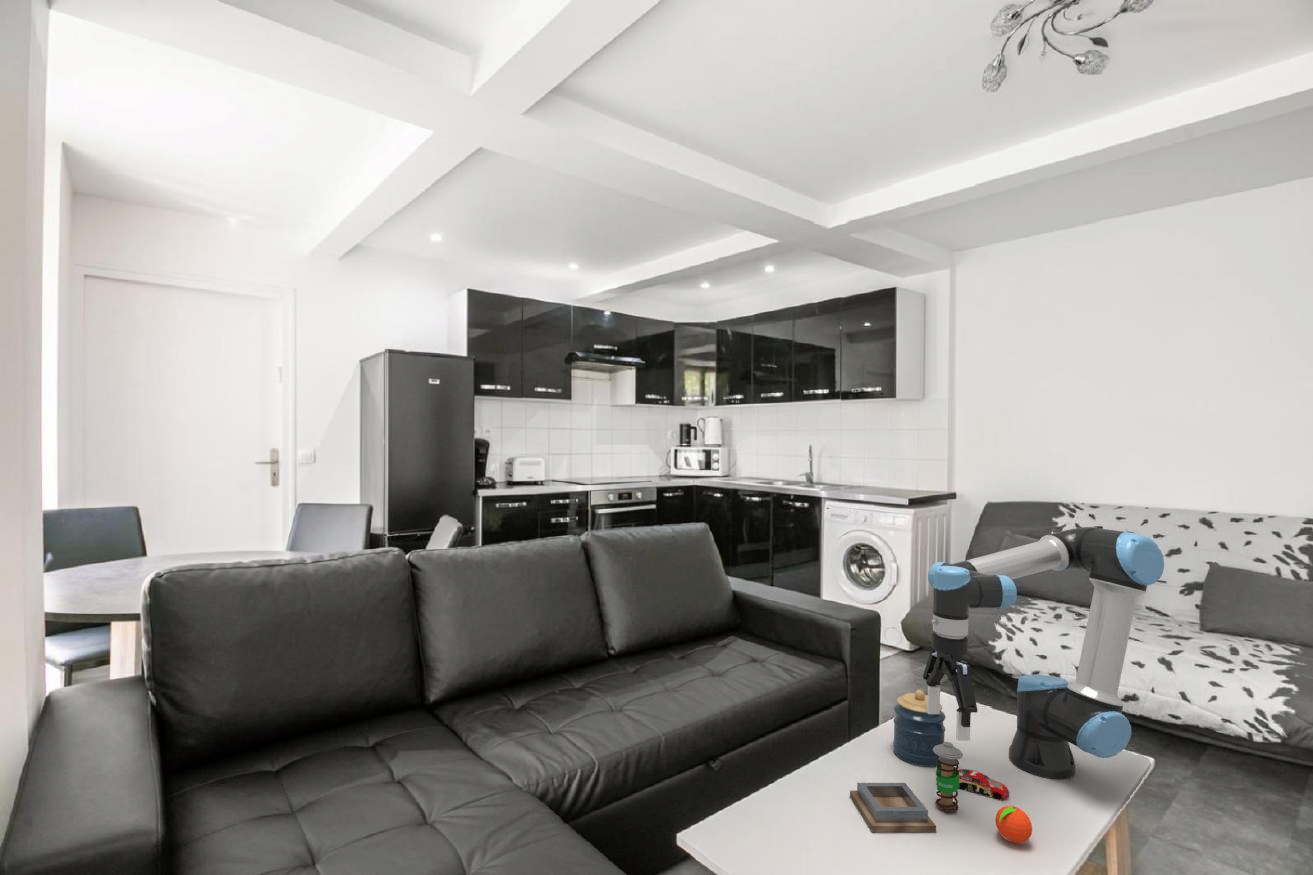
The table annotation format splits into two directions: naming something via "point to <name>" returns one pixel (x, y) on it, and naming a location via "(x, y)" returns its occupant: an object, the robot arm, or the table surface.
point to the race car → (981, 784)
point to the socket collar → (892, 814)
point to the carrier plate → (896, 826)
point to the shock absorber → (947, 775)
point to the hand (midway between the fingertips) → (947, 726)
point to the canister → (917, 730)
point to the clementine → (1013, 824)
